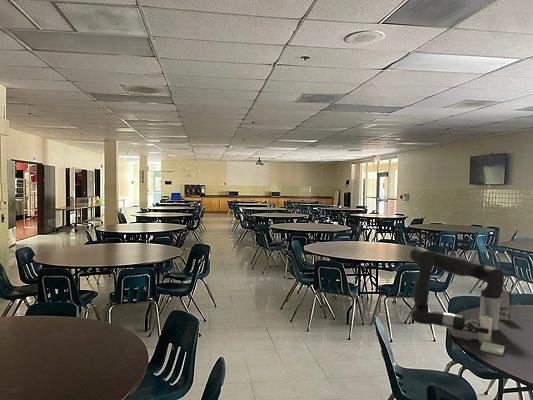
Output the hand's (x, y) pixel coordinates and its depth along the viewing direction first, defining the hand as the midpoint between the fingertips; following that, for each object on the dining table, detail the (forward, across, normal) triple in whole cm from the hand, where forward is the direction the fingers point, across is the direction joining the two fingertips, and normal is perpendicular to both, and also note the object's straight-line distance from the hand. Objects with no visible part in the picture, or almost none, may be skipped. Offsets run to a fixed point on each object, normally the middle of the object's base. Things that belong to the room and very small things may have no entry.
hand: (489, 329), depth 194 cm
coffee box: (+1, +50, +7) cm, 51 cm away
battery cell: (-2, 0, +7) cm, 7 cm away
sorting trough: (+2, -8, +7) cm, 11 cm away
